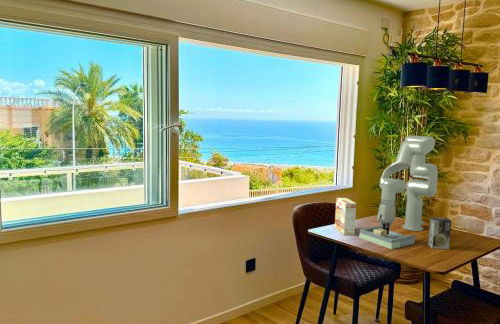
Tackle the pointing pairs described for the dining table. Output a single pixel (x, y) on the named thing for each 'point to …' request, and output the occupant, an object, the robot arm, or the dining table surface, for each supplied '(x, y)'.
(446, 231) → the coffee box
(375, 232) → the maple block
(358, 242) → the dining table surface
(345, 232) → the coffeecake box
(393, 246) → the box
